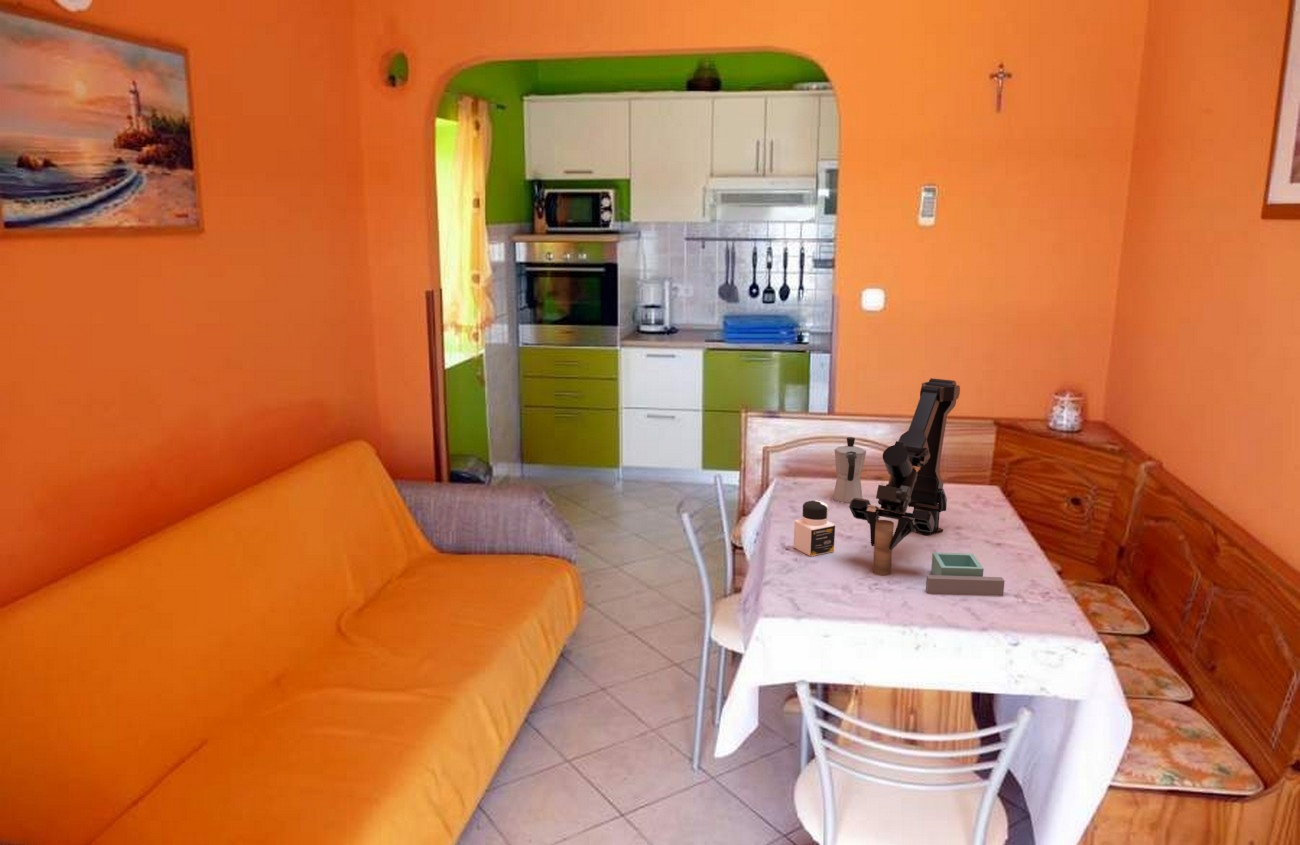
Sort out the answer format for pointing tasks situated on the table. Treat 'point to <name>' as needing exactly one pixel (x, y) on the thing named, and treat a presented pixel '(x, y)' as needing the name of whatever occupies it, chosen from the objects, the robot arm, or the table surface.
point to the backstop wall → (965, 585)
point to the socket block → (956, 565)
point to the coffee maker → (848, 471)
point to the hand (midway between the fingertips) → (881, 547)
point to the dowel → (883, 547)
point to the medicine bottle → (814, 530)
